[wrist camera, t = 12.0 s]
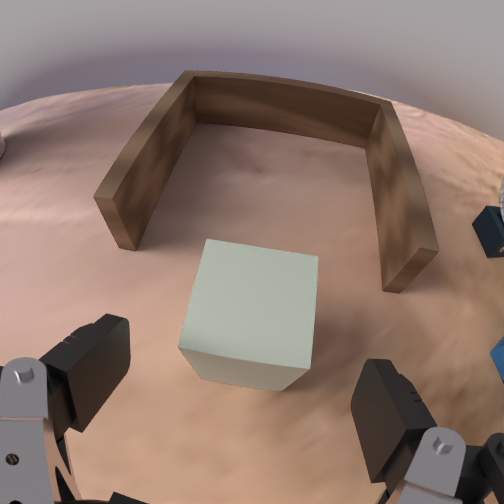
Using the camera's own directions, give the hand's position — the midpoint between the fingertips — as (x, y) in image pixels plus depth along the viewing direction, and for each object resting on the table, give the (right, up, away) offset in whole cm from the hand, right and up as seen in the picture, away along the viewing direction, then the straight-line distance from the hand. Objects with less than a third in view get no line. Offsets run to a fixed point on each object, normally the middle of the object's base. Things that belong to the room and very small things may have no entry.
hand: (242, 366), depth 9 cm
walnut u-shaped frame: (+2, +10, +18) cm, 20 cm away
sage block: (0, -2, +9) cm, 10 cm away
